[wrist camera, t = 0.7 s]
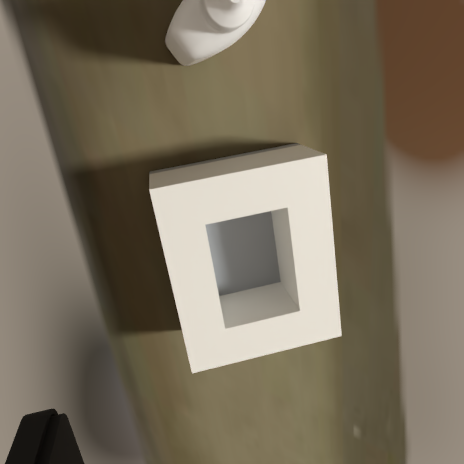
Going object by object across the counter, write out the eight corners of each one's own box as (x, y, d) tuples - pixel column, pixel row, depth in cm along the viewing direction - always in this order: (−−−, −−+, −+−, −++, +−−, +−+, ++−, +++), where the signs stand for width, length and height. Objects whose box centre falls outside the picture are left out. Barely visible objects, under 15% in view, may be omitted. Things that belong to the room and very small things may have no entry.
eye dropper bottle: (247, 56, 31) (302, 39, 20) (169, 68, 30) (180, 58, 19) (238, -12, 29) (292, -74, 18) (156, -1, 29) (160, -57, 17)
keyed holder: (149, 171, 32) (149, 189, 26) (297, 143, 33) (326, 154, 28) (185, 329, 37) (192, 373, 31) (313, 299, 38) (341, 335, 33)
